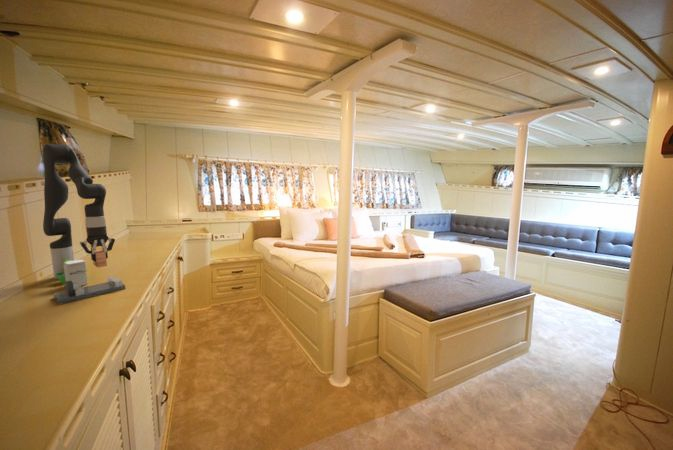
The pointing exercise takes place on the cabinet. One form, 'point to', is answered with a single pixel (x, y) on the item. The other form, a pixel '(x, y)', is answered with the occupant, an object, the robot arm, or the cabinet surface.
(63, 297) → the vise
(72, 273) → the supplement box
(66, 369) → the cabinet surface
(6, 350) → the cabinet surface
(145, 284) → the cabinet surface
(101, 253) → the block
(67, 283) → the sliding jaw
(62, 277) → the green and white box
